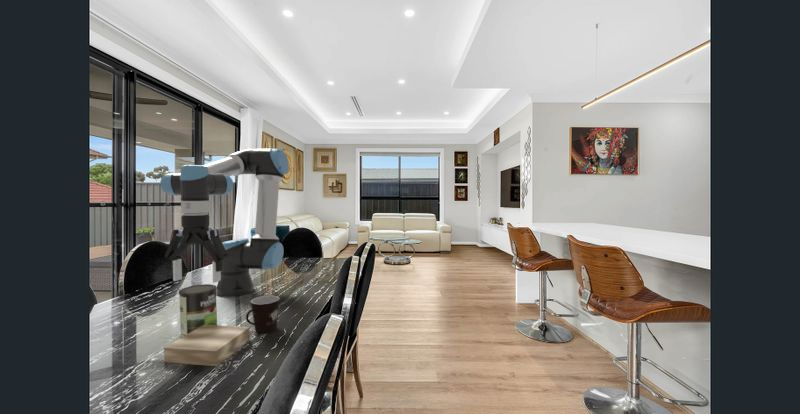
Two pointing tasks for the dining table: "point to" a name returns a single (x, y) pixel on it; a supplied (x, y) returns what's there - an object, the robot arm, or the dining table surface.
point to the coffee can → (197, 307)
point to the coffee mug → (264, 313)
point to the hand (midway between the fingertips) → (197, 280)
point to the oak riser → (207, 345)
